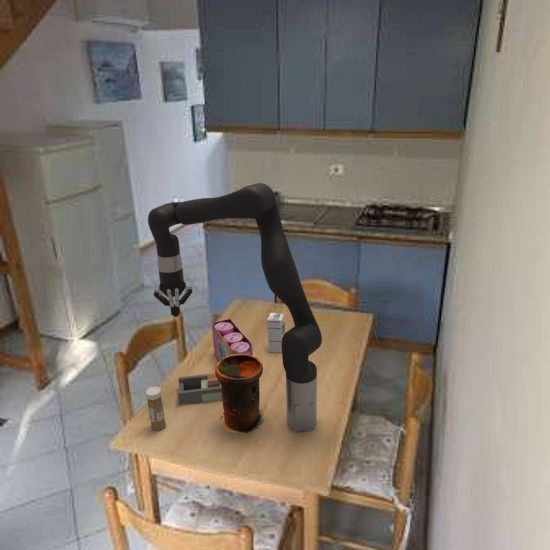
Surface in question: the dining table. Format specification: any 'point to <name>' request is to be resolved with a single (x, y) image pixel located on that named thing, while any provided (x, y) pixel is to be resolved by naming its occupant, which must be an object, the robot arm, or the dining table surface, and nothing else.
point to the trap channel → (197, 390)
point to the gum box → (229, 340)
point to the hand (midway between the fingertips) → (176, 315)
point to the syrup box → (275, 331)
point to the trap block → (213, 381)
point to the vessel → (240, 392)
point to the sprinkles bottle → (155, 408)
